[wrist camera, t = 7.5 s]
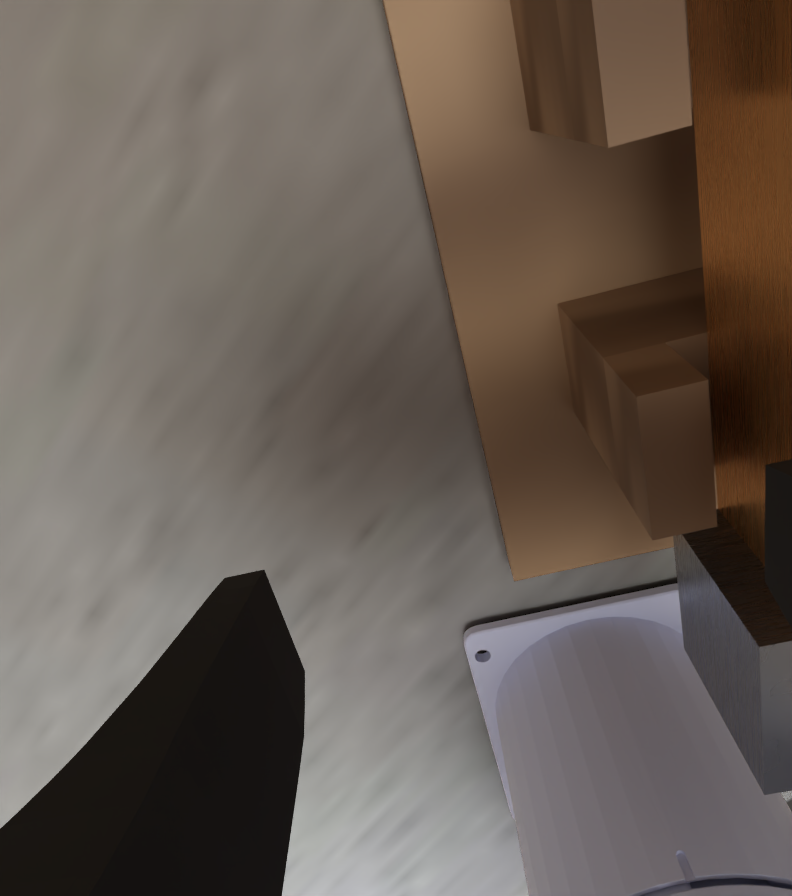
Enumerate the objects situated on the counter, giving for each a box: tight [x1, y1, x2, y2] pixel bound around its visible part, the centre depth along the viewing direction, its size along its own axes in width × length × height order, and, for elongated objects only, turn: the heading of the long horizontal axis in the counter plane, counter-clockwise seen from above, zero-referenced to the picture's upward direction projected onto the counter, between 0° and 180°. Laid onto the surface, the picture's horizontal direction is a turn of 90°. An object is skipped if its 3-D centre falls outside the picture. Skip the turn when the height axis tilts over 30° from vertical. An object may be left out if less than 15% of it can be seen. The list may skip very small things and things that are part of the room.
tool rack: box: [382, 0, 718, 581], centre depth 14 cm, size 20×12×7 cm, turn 14°
